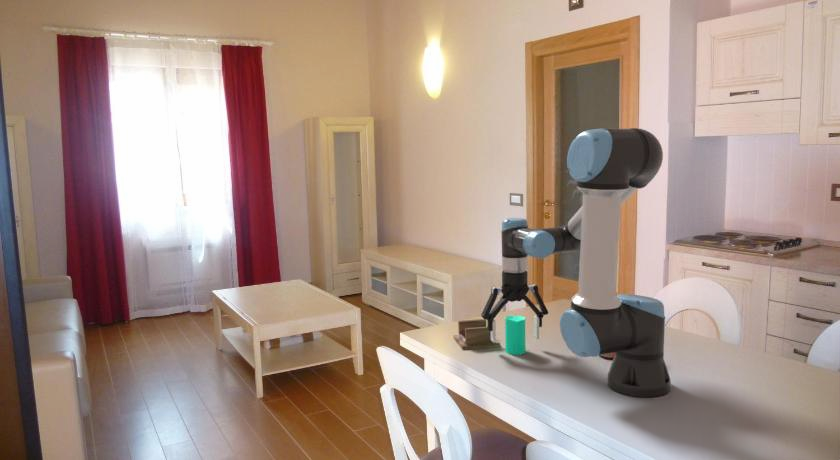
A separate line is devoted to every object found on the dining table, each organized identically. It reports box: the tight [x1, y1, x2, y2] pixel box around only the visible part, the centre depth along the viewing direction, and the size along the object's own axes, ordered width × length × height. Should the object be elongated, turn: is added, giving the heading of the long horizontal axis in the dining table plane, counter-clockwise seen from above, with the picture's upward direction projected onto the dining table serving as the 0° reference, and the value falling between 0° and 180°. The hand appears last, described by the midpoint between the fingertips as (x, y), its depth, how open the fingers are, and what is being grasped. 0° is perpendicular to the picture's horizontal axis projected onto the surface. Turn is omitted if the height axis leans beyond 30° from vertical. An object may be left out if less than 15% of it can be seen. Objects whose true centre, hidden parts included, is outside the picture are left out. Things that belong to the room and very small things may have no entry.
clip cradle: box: [453, 318, 501, 350], centre depth 197 cm, size 12×12×6 cm
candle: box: [504, 315, 526, 356], centre depth 186 cm, size 6×6×12 cm
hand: (514, 339), depth 187 cm, fingers open, 13 cm apart
